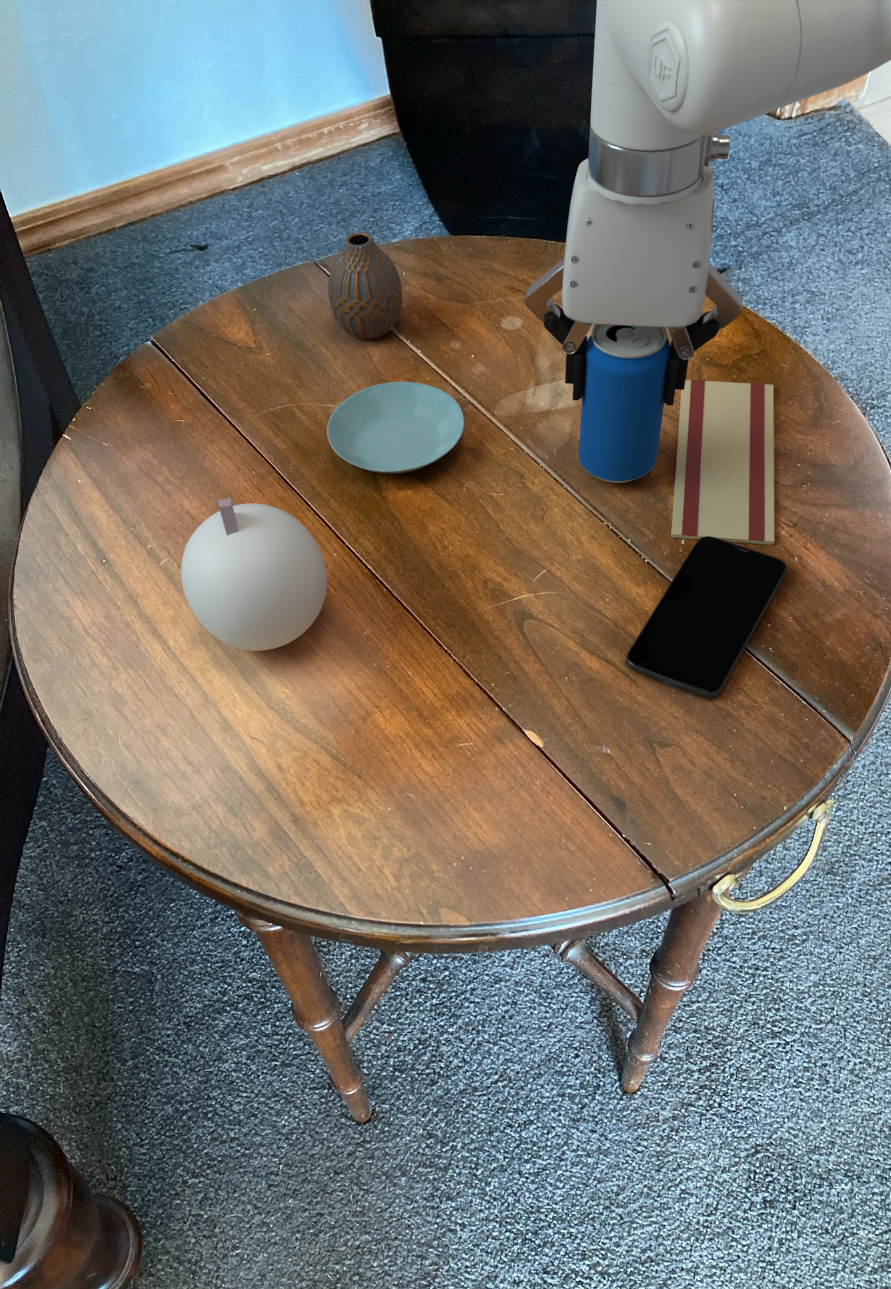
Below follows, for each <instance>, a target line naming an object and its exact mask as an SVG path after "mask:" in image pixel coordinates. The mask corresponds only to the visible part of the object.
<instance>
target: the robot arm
mask: <svg viewBox="0 0 891 1289" xmlns="http://www.w3.org/2000/svg"><path fill="white" fill-rule="evenodd" d="M594 28H595V30H594V44H593V46H594V47H593V63H592V64H593V66H592V81H591V82H592V84H591V85H592V86H591V102H590V103H591V106H590V122H589V123H590V125H589V137H588V139H589V140H588V155H587V156H588V157H587V158H586V159H584V160H583V161H581V162H580V164H579V165H578V168H577V171H576V175H575V180H574V183H573V187H572V194H571V199H570V204H569V212H568V220H567V229H566V238H565V248H564V249H565V251H564V257H563V258H562V259H561V260H559V262H557V263H555V265H554V266H553V267H551V268H550V269H549V270H548V271H547V272H545V273H544V274H543V275H541V277H539V278H538V279H537V280H535V281H534V282H533V283H532V284H531V285H529V286H528V287H527V289H526V292H525V295H524V300H523V303H524V305H525V307H526V308H527V309H528V310H529V311H530V312H531V313H532V314H533V315H534V316H535V317H536V319H537V320H540V321H541V322H542V324H543V325H542V326H543V328H544V329H545V330H546V331H547V332H548V333H549V334H550V335H551V336H552V337H553V338H554V339H556V341H557V342H558V343H560V345H561V349H562V351H563V353H565V372H564V373H565V374H564V384H568V385H572V401H580V400H582V394H583V378H584V361H585V346H586V343H587V340H588V336H587V335H588V332H589V331H590V329H591V328H592V325H595V324H606V325H625V326H649V327H665V328H667V330H668V333H669V335H670V338H671V340H670V346H671V352H670V360H669V367H668V375H667V382H666V390H665V398H664V405H665V404H666V406H668V407H674V403H675V394H676V390H677V391H678V390H680V391H681V390H684V388H685V381H686V380H687V375H688V373H687V372H688V367H689V360H691V359H692V358H693V357H694V355H695V352H697V351H698V350H699V349H700V348H702V347H703V346H704V345H706V344H707V343H708V342H709V341H711V340H713V339H714V338H715V337H716V336H717V335H718V334H719V331H721V330H722V329H724V328H726V327H727V326H729V325H730V324H731V323H732V322H733V321H735V320H736V319H737V318H738V317H740V316H741V315H742V314H743V311H744V310H743V308H744V307H743V306H744V300H743V297H742V296H741V295H740V294H739V292H738V291H737V290H736V289H735V288H734V287H733V286H732V285H731V284H730V283H729V282H728V281H727V280H726V279H725V277H724V276H723V275H722V274H721V273H720V272H719V271H718V270H717V269H716V268H715V267H714V266H713V265H712V264H711V263H710V261H711V260H710V259H711V251H712V243H713V242H712V241H713V240H712V239H713V230H714V220H715V218H714V217H715V174H714V168H713V166H712V165H711V164H710V162H716V161H717V160H728V159H729V153H730V146H731V139H732V138H731V136H732V135H728V134H725V135H724V134H720V132H721V131H725V130H726V129H729V128H732V127H734V126H735V127H736V126H738V125H740V124H743V123H746V122H748V121H751V120H753V119H756V118H759V117H761V116H765V115H766V114H769V113H771V112H772V111H775V110H778V109H781V108H784V107H786V106H790V105H792V104H795V103H797V102H801V101H803V100H805V99H808V98H811V97H814V96H817V95H820V94H823V93H826V92H828V91H831V90H835V89H837V88H840V87H842V86H845V85H847V84H849V83H851V82H853V81H855V80H857V79H859V78H862V77H863V76H865V75H868V74H869V73H871V72H872V71H875V70H876V69H878V68H880V67H881V66H883V65H885V64H887V63H888V62H890V61H891V0H596V12H595V27H594ZM561 290H562V291H561ZM560 291H561V298H562V299H561V305H562V307H561V305H558V304H556V303H554V300H553V299H552V297H554V296H555V295H556V294H557V293H558V292H560ZM706 296H707V297H708V299H710V300H711V302H712V303H713V304H714V305H715V306H714V307H713V308H712V309H711V310H707V311H706V312H704V313H703V314H702V312H703V307H704V303H705V299H706Z"/></svg>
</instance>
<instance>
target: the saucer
mask: <svg viewBox="0 0 891 1289" xmlns="http://www.w3.org/2000/svg"><path fill="white" fill-rule="evenodd" d="M464 429H465V418H464V412H463V410H462V408H461V406H460V404H459V403H458V402H457V401H456V400H455V398H453V396H451V395H450V394H448V393H447V392H446V391H444V390H442V389H440V388H438V387H435V386H433V385H428V384H425V383H420V382H413V381H390V382H383V383H379V384H374V385H371V386H368V387H365V388H363V389H361V390H359V391H356V392H354V393H353V394H351V395H350V396H348V397H347V398H346V399H344V400H343V401H342V402H340V404H338V405H337V407H336V408H335V409H334V410H333V412H332V413H331V415H330V417H329V419H328V422H327V426H326V437H327V441H328V443H329V445H330V446H331V448H332V450H333V452H335V454H337V456H339V457H340V458H341V459H342V460H344V461H345V462H347V463H349V464H350V465H353V466H355V467H357V468H359V469H362V470H365V471H368V472H373V473H378V474H393V475H394V474H403V473H409V472H413V471H417V470H420V469H423V468H425V467H427V466H429V465H431V464H433V463H435V462H437V461H438V460H440V459H441V458H443V457H444V456H445V455H446V454H448V453H449V452H450V451H451V450H452V449H453V448H454V447H455V446H456V445H457V443H458V442H459V440H460V438H461V437H462V435H463V433H464Z"/></svg>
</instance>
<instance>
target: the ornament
mask: <svg viewBox="0 0 891 1289" xmlns="http://www.w3.org/2000/svg"><path fill="white" fill-rule="evenodd" d="M217 504H218V508H219V511H217V512H215V513H213V514H211V515H210V516H209V517H207V518H206V519H205V520H204V521H203V522H202V523H201V524H199V526H197V528H196V529H195V530H194V532H193V533H192V534H191V536H190V538H189V539H188V541H187V543H186V545H185V548H184V551H183V555H182V558H181V566H180V576H181V578H180V579H181V585H182V589H183V590H182V591H183V594H184V596H185V599H186V602H187V604H188V606H189V608H190V610H191V611H192V614H193V615H194V616H195V618H196V620H197V621H198V622H199V623H200V625H201V626H202V627H203V628H204V629H205V631H207V632H208V633H209V634H211V635H212V637H214V638H215V639H217V640H219V642H222V643H223V644H225V645H227V646H229V647H232V648H235V649H239V650H244V651H250V652H260V651H269V650H273V649H277V648H280V647H283V646H285V645H288V644H290V643H291V642H293V641H295V640H296V639H298V638H299V637H301V636H302V635H303V634H304V633H305V632H306V631H307V630H308V629H309V628H310V627H311V626H312V624H313V623H314V622H315V621H316V619H317V618H318V616H319V614H320V613H321V610H322V608H323V606H324V602H325V600H326V595H327V590H328V575H327V574H328V573H327V567H326V563H325V559H324V557H323V554H322V551H321V549H320V547H319V545H318V544H317V543H318V542H317V541H316V540H315V538H314V536H313V535H312V534H311V533H310V531H309V530H308V528H306V527H305V525H303V523H301V521H299V520H298V519H297V518H295V516H293V515H291V514H290V513H289V512H286V511H285V510H283V509H281V508H278V507H276V506H273V505H268V504H264V503H254V502H253V503H252V502H251V503H250V502H249V503H241V504H240V503H239V504H235V505H233V503H232V500H231V497H225V498H222V499H217Z"/></svg>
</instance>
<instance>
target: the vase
mask: <svg viewBox="0 0 891 1289" xmlns="http://www.w3.org/2000/svg"><path fill="white" fill-rule="evenodd" d="M327 292H328V293H327V294H328V301H329V305H330V309H331V312H332V314H333V317H334V318H335V320H336V322H337V324H338V325H339V327H341V329H343V331H345V333H347V334H348V335H350V336H352V337H354V338H356V339H358V340H365V341H369V340H375V339H379V338H382V337H383V336H386V335H387V334H388V333H389V332H390V331H391V330H392V329H393V328H394V326H395V325H396V323H397V322H398V320H399V318H400V315H401V310H402V306H403V287H402V281H401V277H400V274H399V272H398V269H397V267H396V265H395V264H394V262H393V260H392V258H390V257H389V256H388V255H387V253H386V252H385V251H384V250H383V249H382V248H380V247H379V246H378V244H377V243H376V242H375V240H374V238H373V236H372V235H371V234H369V233H368V232H364V231H357V232H352V233H351V234H349V235H348V236H346V238H345V241H344V244H343V248H342V250H341V251H340V253H339V254H338V256H337V257H336V258H335V261H334V262H333V264H332V266H331V269H330V272H329V277H328V284H327Z"/></svg>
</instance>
